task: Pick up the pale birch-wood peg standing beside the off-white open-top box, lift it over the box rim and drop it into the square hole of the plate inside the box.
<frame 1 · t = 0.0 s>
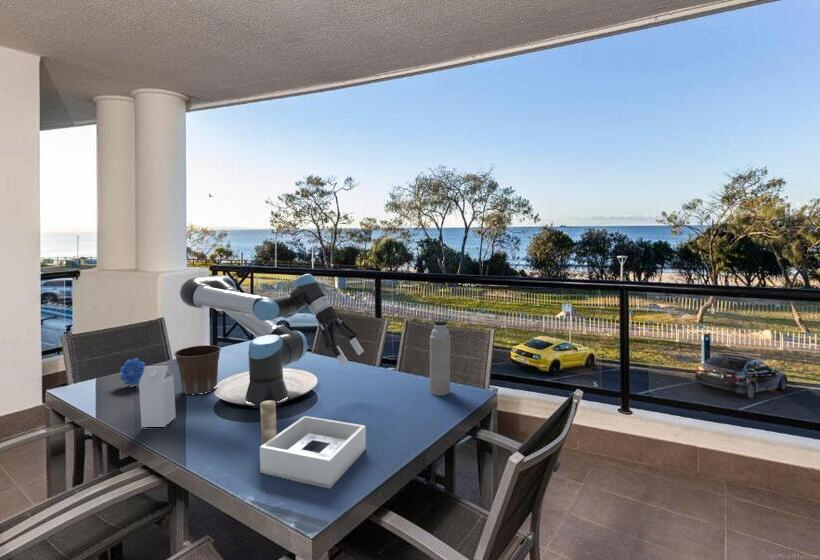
hand: (353, 358, 156), 15 cm above the table, tool tilted 35°, fingers open, 13 cm apart
thermos bottle: (439, 392, 163), on the table
box: (315, 460, 112), on the table
bore plate: (315, 451, 112), in the box, point 2 cm above the table
grapes: (136, 386, 169), on the table
peg: (269, 451, 117), on the table
plant pot: (199, 390, 164), on the table
milk carton: (159, 424, 134), on the table
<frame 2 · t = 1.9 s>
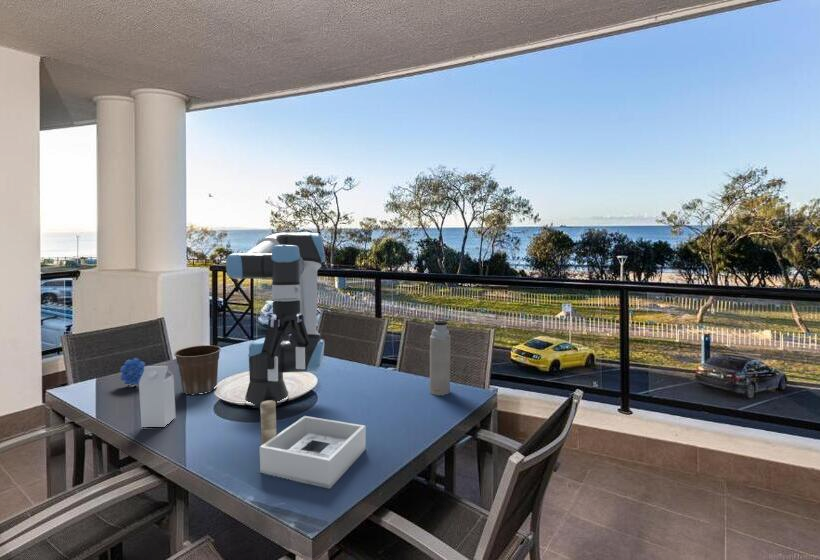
hand: (287, 374, 118), 21 cm above the table, tool pointing down, fingers open, 13 cm apart
nothing on the table moved.
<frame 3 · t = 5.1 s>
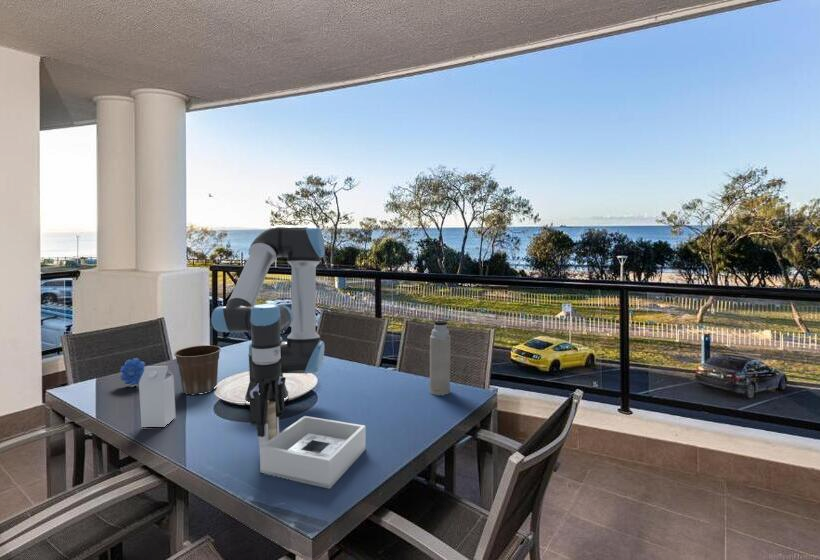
hand: (269, 442, 116), 3 cm above the table, tool pointing down, fingers closed on peg, 4 cm apart
peg: (269, 451, 117), on the table, touching gripper
everything else where it was.
when the fingers open (6 cm above the table, at t = 10.9 s): peg stays where it is, resting on box.
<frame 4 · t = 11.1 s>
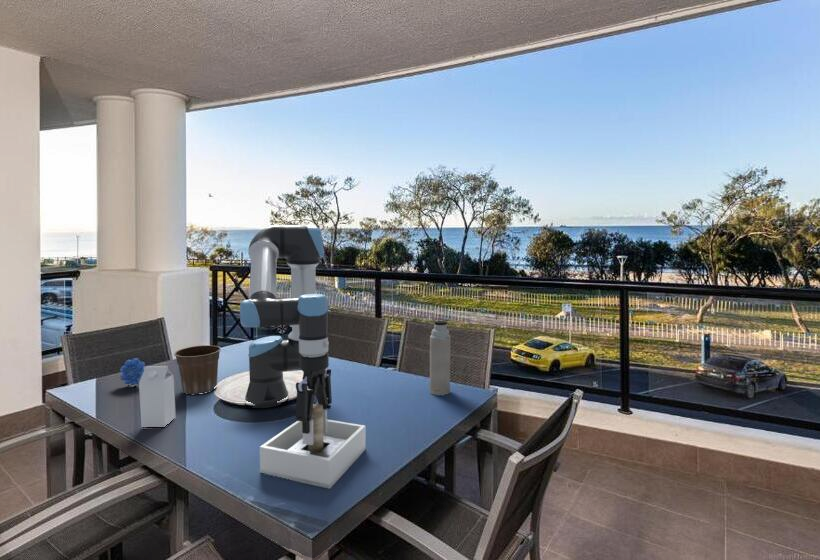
hand: (315, 437, 111), 6 cm above the table, tool pointing down, fingers open, 6 cm apart
peg: (315, 456, 112), point 1 cm above the table, touching box
everything else where it was.
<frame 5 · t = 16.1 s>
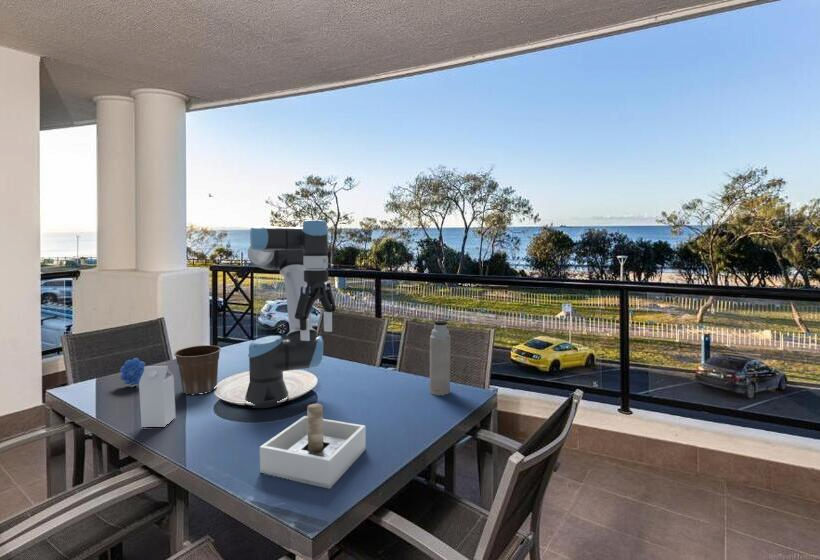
hand: (317, 335, 133), 29 cm above the table, tool pointing down, fingers open, 13 cm apart
nothing on the table moved.
at the end: peg 0.1 cm off-centre on the box, point 1.0 cm above the box's base; peg tilted 0°; the gripper is holding nothing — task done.
